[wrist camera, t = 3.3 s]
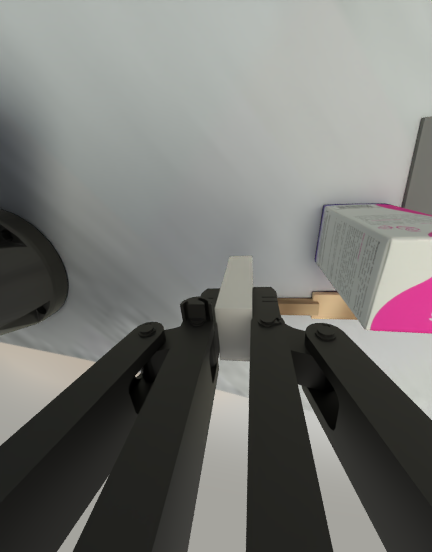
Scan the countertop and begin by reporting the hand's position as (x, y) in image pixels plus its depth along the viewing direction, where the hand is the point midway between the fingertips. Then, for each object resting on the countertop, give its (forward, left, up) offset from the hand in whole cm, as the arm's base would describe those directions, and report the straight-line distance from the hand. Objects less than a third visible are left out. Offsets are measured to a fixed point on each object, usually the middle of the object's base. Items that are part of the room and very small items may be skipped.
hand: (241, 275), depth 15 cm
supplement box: (+10, 0, -9) cm, 14 cm away
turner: (+8, -7, -9) cm, 14 cm away
